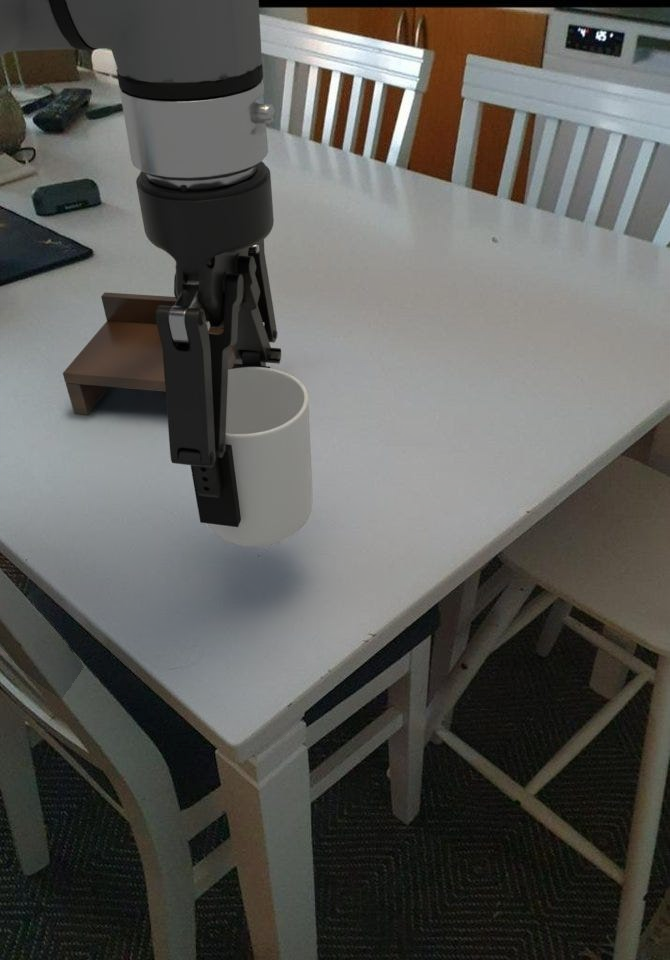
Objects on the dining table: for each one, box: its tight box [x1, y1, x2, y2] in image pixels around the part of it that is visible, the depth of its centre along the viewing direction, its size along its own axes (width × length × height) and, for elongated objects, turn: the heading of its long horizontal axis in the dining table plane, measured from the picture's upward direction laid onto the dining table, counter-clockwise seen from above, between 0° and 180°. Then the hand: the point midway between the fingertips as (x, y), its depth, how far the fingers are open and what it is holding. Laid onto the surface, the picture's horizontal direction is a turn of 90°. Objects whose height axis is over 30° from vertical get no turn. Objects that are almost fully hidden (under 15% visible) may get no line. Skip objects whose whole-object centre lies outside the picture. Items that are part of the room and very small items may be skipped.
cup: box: [206, 367, 314, 548], centre depth 59 cm, size 8×12×10 cm
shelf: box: [62, 292, 242, 416], centre depth 86 cm, size 16×12×8 cm
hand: (240, 477), depth 59 cm, fingers closed on cup, 9 cm apart
